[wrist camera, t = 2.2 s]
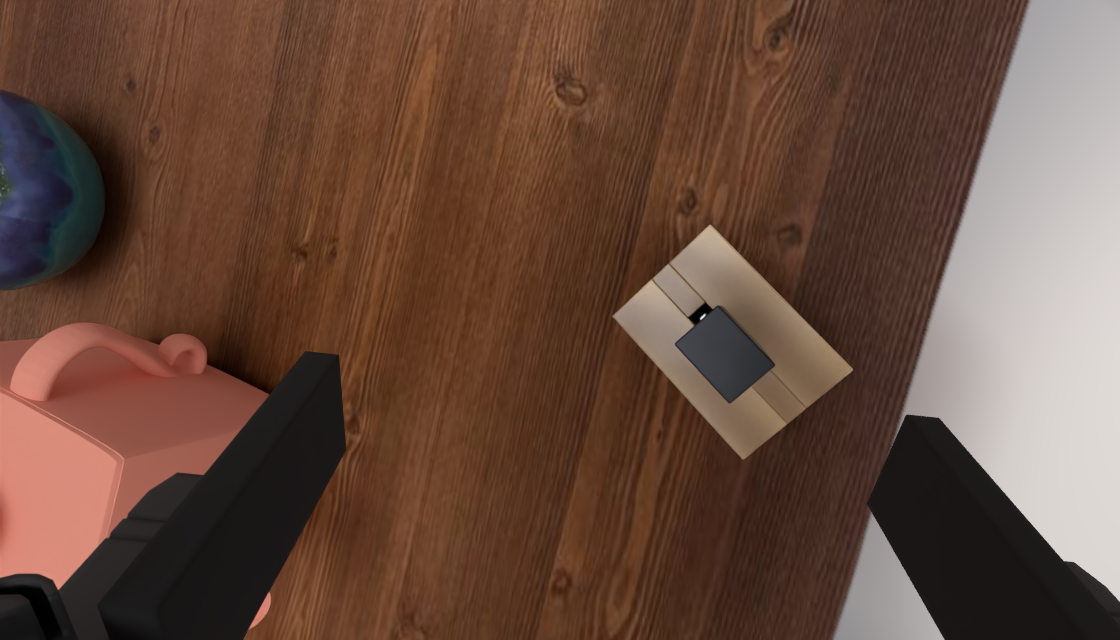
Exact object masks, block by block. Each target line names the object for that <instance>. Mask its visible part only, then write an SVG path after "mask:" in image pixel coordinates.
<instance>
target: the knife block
mask: <svg viewBox="0 0 1120 640" xmlns="http://www.w3.org/2000/svg"><path fill="white" fill-rule="evenodd" d="M708 305H709V306H710V307H711V308H712V309H714V308H715V307H716V306H717V305H720V306H723V307H724V308H725V309H726V310H727V311H728V312H729V313H730V314H731V315H732V316H733V317H734V318H735V319H736V320H737V321H738V322H739V323H740V324H741V326H742V327H743V328H744V329H745V330H746V331H747V332H748V333H749V334H750V335H751V336H752V337H753V338H754V339H755V340H756V341H757V342H758V343H759V344H760V345H761V346H762V347H763V349H764V350H765V351H766V353H767V354H768V355H769V357H770V358H771V359H772V361H773V362H774V363H775V367H773V368H772V369H771V370H770V371H769V372H767V373H766V374H765V375H764V376H763V377H762V378H760V379H759V380H758V381H757V382H756V383H754V384H753V385H752V386H751V387H750V388H749V389H747V390H746V391H745V392H744V393H743V394H741V395H740V396H739V397H738V398H737V399H736V400H734V401H733V402H732V403H730V404H729V403H728V402H727V401H726V400H725V399H724V398H723V397H722V396H721V395H720V394H719V392H718V391H717V390H716V389H715V388H714V387H713V386H712V385H711V384H710V383H709V382H708V381H707V379H706V378H705V377H704V376H703V375H702V374H701V373H700V372H699V371H698V370H697V369H696V368H695V366H694V365H693V364H692V363H691V362H690V361H689V360H688V359H687V358H686V357H685V356H684V355H683V353H682V352H681V351H680V350H679V349H678V348H677V347H676V346H675V343H676V342H677V341H678V340H679V339H680V338H681V337H682V336H683V335H685V334H686V333H687V332H688V331H689V330H690V329H691V328H692V327H694V326H695V325H696V324H697V323H698V322H699V320H698V318H697V317H696V316H697V315H698V314H699V313H700V312H701V311H702V310H703V309H704V308H705V307H707V306H708ZM613 318H614V319H615V320H616V321H617V322H618V323H619V325H620V326H621V327H622V328H623V329H624V330H625V331H626V332H627V333H628V334H629V336H630V337H631V338H632V339H633V340H634V341H635V342H636V343H637V344H638V345H639V347H640V348H641V349H642V350H643V351H644V352H645V353H646V354H647V355H648V356H649V357H650V359H651V360H652V361H653V362H654V363H655V364H656V365H657V366H658V367H659V368H660V370H661V371H662V372H663V373H664V374H665V375H666V376H667V377H668V378H669V379H670V381H671V382H672V383H673V384H674V385H675V386H676V387H677V388H678V389H679V390H680V392H681V393H682V394H683V395H684V396H685V397H686V398H687V399H688V400H689V401H690V403H691V404H692V405H693V406H694V407H695V408H696V409H697V410H698V411H699V412H700V414H701V415H702V416H703V417H704V418H705V419H706V420H707V421H708V422H709V423H710V425H711V426H712V427H713V428H714V429H715V430H716V431H717V432H718V433H719V434H720V435H721V437H722V438H723V439H724V440H725V441H726V442H727V443H728V444H729V445H730V446H731V448H732V449H733V450H734V451H735V452H736V453H737V454H738V455H739V456H740V457H741V459H745V458H746V457H747V456H749V455H750V454H751V453H752V452H754V451H755V450H756V449H757V448H758V447H760V446H761V445H762V444H763V443H765V442H766V441H767V440H768V439H770V438H771V437H772V436H773V435H774V434H776V433H777V432H778V431H779V430H781V429H782V428H783V427H784V426H785V425H787V423H789V422H790V421H792V420H793V419H794V418H795V417H797V416H798V415H799V414H800V413H802V412H803V411H804V410H805V409H806V408H807V407H809V406H810V405H811V404H812V403H814V402H815V401H816V400H817V399H819V398H820V397H821V396H822V395H823V394H825V393H826V392H827V391H828V390H830V389H831V388H832V387H833V386H835V385H836V384H837V383H838V382H839V381H841V380H842V379H843V378H844V377H846V376H847V375H848V374H849V373H850V372H852V371H853V369H852V368H851V366H850V365H849V364H848V363H847V362H846V361H845V360H844V359H843V358H842V357H841V356H840V355H839V354H838V353H837V352H836V351H835V350H834V349H833V348H832V347H831V346H830V345H829V344H828V343H827V342H826V341H825V340H824V339H823V338H822V337H821V336H820V335H819V334H818V333H817V332H816V331H815V330H814V329H813V328H812V327H811V326H810V325H809V324H808V323H807V322H806V321H805V320H804V319H803V318H802V317H801V316H800V315H799V314H798V313H797V312H796V311H795V310H794V309H793V308H792V307H791V305H790V304H789V303H788V302H787V301H786V300H785V299H784V298H783V297H782V296H781V295H780V294H779V293H778V292H777V291H776V290H775V289H774V288H773V287H772V286H771V285H770V284H769V283H768V282H767V281H766V280H765V279H764V278H763V277H762V276H761V275H760V274H759V273H758V272H757V271H756V270H755V269H754V268H753V267H752V266H751V265H750V264H749V263H748V262H747V261H746V260H745V259H744V258H743V257H742V256H741V255H740V254H739V253H738V252H737V251H736V250H735V249H734V248H733V247H732V246H731V244H730V243H729V242H728V241H727V240H726V239H725V238H724V237H723V236H722V235H721V234H720V233H719V232H718V231H717V230H716V229H715V228H714V227H713V226H712V225H709V226H708V227H706V228H705V229H704V230H703V231H702V232H701V233H700V234H699V235H698V236H697V237H696V238H695V239H694V240H693V241H692V242H690V243H689V244H688V245H687V246H686V247H685V248H684V249H683V250H682V251H681V252H680V253H679V254H678V255H677V256H676V257H675V258H673V259H672V260H671V261H670V262H669V264H667V265H666V266H665V267H664V268H663V269H662V270H661V271H660V272H658V273H657V274H656V275H655V276H654V277H653V278H652V280H650V281H649V282H648V283H647V284H646V285H645V286H644V287H642V288H641V289H640V290H639V291H638V292H637V293H636V294H635V295H634V296H633V297H632V298H631V299H630V300H629V301H628V302H626V303H625V304H624V305H623V306H622V307H621V308H620V309H619V310H618V311H617V312H616V313H615V314H614V315H613Z"/></svg>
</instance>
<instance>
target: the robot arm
mask: <svg viewBox="0 0 1120 640" xmlns="http://www.w3.org/2000/svg"><path fill="white" fill-rule="evenodd" d="M345 451H346V443H345V429H344V416H343V403H342V390H341V377H340V364H339V355H335V354H325V353H316V352H306V351H305V352H304V354H303V355H302V356H301V357H300V358H299V360H298V361H297V362H296V363H295V364H294V366H293V367H292V368H291V369H290V371H289V372H288V373H287V374H286V375H285V377H284V378H283V379H282V380H281V382H280V383H279V384H278V385H277V386H276V388H275V389H274V390H273V391H272V392H271V394H270V395H269V396H268V397H267V399H266V400H265V401H264V402H263V403H262V405H261V406H260V407H259V408H258V410H257V411H256V412H255V413H254V414H253V416H252V417H251V418H250V419H249V420H248V422H247V423H246V424H245V425H244V427H243V428H242V429H241V430H240V431H239V433H238V434H237V435H236V436H235V437H234V439H233V440H232V441H231V442H230V444H229V445H228V446H227V447H226V448H225V450H224V451H223V452H222V453H221V455H220V456H219V457H218V458H217V459H216V461H215V462H214V463H213V464H212V465H211V467H210V468H209V469H208V470H207V472H206V473H205V474H204V475H198V474H189V473H179V472H177V473H176V474H174V475H173V476H171V477H170V478H168V479H166V480H165V481H163V482H162V483H160V484H159V485H157V486H155V487H154V488H152V489H151V490H149V491H148V492H147V493H146V494H145V495H144V496H143V497H142V499H141V500H140V501H139V502H138V503H137V504H136V505H135V506H134V507H133V508H132V510H131V511H130V512H129V513H128V516H127V518H126V519H124V518H123V519H122V521H121V522H120V523H119V524H118V525H117V526H116V527H115V528H114V529H113V530H112V532H111V533H110V537H109V538H105V539H104V540H103V541H102V543H101V544H100V545H99V546H98V547H97V548H96V549H95V550H94V551H93V552H92V554H91V555H90V556H89V557H88V558H87V559H86V560H85V561H84V562H83V563H82V565H81V566H80V567H79V568H78V569H77V570H76V571H75V572H74V573H73V574H72V576H71V577H70V578H69V579H68V580H67V581H66V582H65V583H64V584H63V585H62V587H61V588H60V589H59V590H58V589H57V587H56V585H55V583H54V581H53V580H52V579H50V578H48V577H45V576H43V575H41V574H14V575H10V576H5V577H1V578H0V640H243V639H244V637H245V635H246V633H247V631H248V629H249V628H250V626H251V624H252V622H253V620H254V618H255V617H256V615H257V613H258V611H259V609H260V607H261V605H262V604H263V602H264V600H265V598H266V596H267V594H268V593H269V591H270V589H271V587H272V585H273V583H274V582H275V580H276V578H277V576H278V574H279V572H280V571H281V569H282V567H283V565H284V563H285V561H286V560H287V558H288V556H289V554H290V552H291V550H292V549H293V547H294V545H295V543H296V541H297V539H298V537H299V536H300V534H301V532H302V530H303V528H304V526H305V525H306V523H307V521H308V519H309V517H310V515H311V514H312V512H313V510H314V508H315V506H316V504H317V503H318V501H319V499H320V497H321V495H322V493H323V492H324V490H325V488H326V486H327V484H328V482H329V481H330V479H331V477H332V475H333V473H334V471H335V469H336V468H337V466H338V464H339V462H340V460H341V458H342V457H343V455H344V453H345ZM867 505H868V507H869V508H870V510H871V512H872V514H873V515H874V517H875V519H876V521H877V522H878V524H879V526H880V527H881V529H882V531H883V533H884V534H885V536H886V538H887V540H888V541H889V543H890V545H891V546H892V548H893V550H894V552H895V554H896V555H897V557H898V559H899V560H900V562H901V564H902V566H903V567H904V569H905V571H906V573H907V575H908V576H909V578H910V580H911V581H912V583H913V585H914V587H915V589H916V590H917V592H918V594H919V596H920V597H921V599H922V601H923V603H924V604H925V606H926V608H927V610H928V611H929V613H930V615H931V616H932V618H933V620H934V622H935V624H936V625H937V627H938V629H939V630H940V632H941V634H942V636H943V637H944V639H945V640H1120V602H1119V601H1118V600H1117V598H1116V597H1115V596H1114V595H1113V594H1112V593H1111V592H1110V591H1109V590H1108V589H1107V588H1106V586H1104V585H1103V584H1102V583H1100V582H1099V581H1097V580H1096V579H1095V578H1094V577H1092V576H1091V575H1090V574H1089V573H1087V572H1086V571H1085V570H1083V569H1082V568H1081V567H1079V566H1078V565H1077V564H1076V563H1074V562H1066V561H1063V560H1062V559H1061V558H1060V556H1059V555H1058V554H1057V553H1056V552H1055V551H1054V550H1053V548H1052V547H1051V546H1050V545H1049V544H1048V543H1047V542H1046V540H1045V539H1044V538H1043V537H1042V536H1041V535H1040V533H1039V532H1038V531H1037V530H1036V529H1035V528H1034V527H1033V525H1032V524H1031V523H1030V522H1029V521H1028V520H1027V519H1026V517H1025V516H1024V515H1023V514H1022V513H1021V512H1020V511H1019V509H1018V508H1017V507H1016V506H1015V505H1014V504H1013V502H1012V501H1011V500H1010V499H1009V498H1008V497H1007V496H1006V494H1005V493H1004V492H1003V491H1002V490H1001V489H1000V488H999V486H998V485H997V484H996V483H995V482H994V481H993V479H992V478H991V477H990V476H989V475H988V474H987V473H986V471H985V470H984V469H983V468H982V467H981V466H980V465H979V463H978V462H977V461H976V460H975V459H974V458H973V457H972V455H971V454H970V453H969V452H968V451H967V450H966V448H965V447H964V446H963V445H962V444H961V443H960V442H959V441H958V439H957V438H956V437H955V436H954V435H953V434H952V432H951V431H950V430H949V429H948V428H947V427H946V426H945V424H944V423H943V422H942V421H941V420H940V419H939V418H934V417H925V416H915V415H906V416H905V418H904V421H903V423H902V425H901V428H900V430H899V432H898V434H897V437H896V439H895V441H894V443H893V446H892V448H891V450H890V452H889V455H888V457H887V459H886V462H885V464H884V466H883V468H882V471H881V473H880V475H879V477H878V480H877V482H876V484H875V486H874V489H873V491H872V493H871V496H870V498H869V500H868V502H867Z"/></svg>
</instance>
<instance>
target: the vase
mask: <svg viewBox="0 0 1120 640" xmlns="http://www.w3.org/2000/svg"><path fill="white" fill-rule="evenodd" d="M104 213H105V188H104V181H103V177H102V174H101V170H100V167H99V165H98V163H97V160H96V159H95V157H94V155H93V153H92V152H91V150H90V148H89V147H88V145H87V144H86V143H85V141H84V140H83V139H82V138H81V137H80V136H79V134H78V133H77V132H76V131H75V130H74V129H73V128H72V127H71V126H70V125H68V124H67V123H66V122H65V121H63V120H62V119H61V118H60V117H58V116H57V115H56V114H55V113H53V112H51V111H50V110H48V109H46V108H44V107H42V106H41V105H39V104H37V103H35V102H34V101H32V100H30V99H27V98H25V97H22V96H20V95H17V94H15V93H12V92H8V91H5V90H1V89H0V291H9V290H16V289H21V288H26V287H30V286H34V285H38V284H41V283H43V282H46V281H48V280H51V279H53V278H55V277H57V276H59V275H61V274H62V273H64V272H66V271H67V270H69V269H70V268H72V267H73V266H74V265H76V264H77V263H78V262H79V261H80V260H81V259H82V258H83V257H84V255H85V254H86V253H87V252H88V251H89V250H90V248H91V247H92V245H93V244H94V242H95V240H96V238H97V236H98V234H99V231H100V228H101V225H102V222H103V218H104Z"/></svg>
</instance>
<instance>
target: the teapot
mask: <svg viewBox="0 0 1120 640" xmlns="http://www.w3.org/2000/svg"><path fill="white" fill-rule="evenodd" d="M268 396H269V394H267V393H265V392H263V391H261V390H259V389H257V388H255V387H253V386H251V385H249V384H247V383H245V382H243V381H241V380H239V379H237V378H235V377H233V376H231V375H229V374H227V373H225V372H223V371H220V370H218V369H216V368H214V367H212V366H209V365H207V350H206V348H205V346H204V345H203V343H202V342H201V341H199V340H198V339H197V338H196V337H194V336H191V335H189V334H173V335H171V336H168V337H167V338H165V339H164V340H163V341H162V342H161V344H160V345H158V344H155V343H152V342H150V341H147V340H144V339H141V338H138V337H133V336H129V335H128V334H126V333H124V332H122V331H120V330H118V329H115V328H113V327H110V326H107V325H103V324H98V323H89V322H80V323H74V324H69V325H65V326H62V327H60V328H58V329H55V330H53V331H52V332H50V333H48V334H46V335H45V336H44V337H42V338H36V339H24V340H13V341H2V342H0V578H1V577H5V576H10V575H14V574H41V575H43V576H45V577H48V578H50V579H52V580H53V581H54V583H55V585H56V587H57V589H58V590H59V589H60V588H61V587H62V585H63V584H64V583H65V582H66V581H67V580H68V579H69V578H70V577H71V576H72V574H73V573H74V572H75V571H76V570H77V569H78V568H79V567H80V566H81V565H82V563H83V562H84V561H85V560H86V559H87V558H88V557H89V556H90V555H91V554H92V552H93V551H94V550H95V549H96V548H97V547H98V546H99V545H100V544H101V543H102V541H103V540H104V539H105V538H109V537H110V533H111V532H112V530H113V529H114V528H115V527H116V526H117V525H118V524H119V523H120V522H121V521H122V519H123V518H124V519H126V518H127V516H128V513H129V512H130V511H131V510H132V508H133V507H134V506H135V505H136V504H137V503H138V502H139V501H140V500H141V499H142V497H143V496H144V495H145V494H146V493H147V492H148V491H149V490H151V489H152V488H154V487H155V486H157V485H159V484H160V483H162V482H163V481H165V480H166V479H168V478H170V477H171V476H173V475H174V474H176V473H177V472H179V473H189V474H198V475H204V474H205V473H206V472H207V470H208V469H209V468H210V467H211V465H212V464H213V463H214V462H215V461H216V459H217V458H218V457H219V456H220V455H221V453H222V452H223V451H224V450H225V448H226V447H227V446H228V445H229V444H230V442H231V441H232V440H233V439H234V437H235V436H236V435H237V434H238V433H239V431H240V430H241V429H242V428H243V427H244V425H245V424H246V423H247V422H248V420H249V419H250V418H251V417H252V416H253V414H254V413H255V412H256V411H257V410H258V408H259V407H260V406H261V405H262V403H263V402H264V401H265V400H266V399H267V397H268ZM270 603H271V595H270V592H269V593H268V594H267V596H266V598H265V600H264V602H263V604H262V605H261V607H260V609H259V611H258V613H257V615H256V617H255V618H254V620H253V622H252V624H251V626H250V628H249V629H251V628H252V627H254V626H255V625H256V624H258V623H259V622H260V621H261V620H262V619H263V617H264V616H265V615H266V613H267V612H268V610H269V607H270ZM249 629H248V630H249Z"/></svg>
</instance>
